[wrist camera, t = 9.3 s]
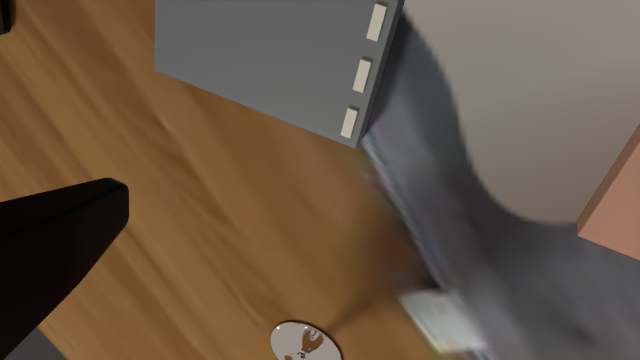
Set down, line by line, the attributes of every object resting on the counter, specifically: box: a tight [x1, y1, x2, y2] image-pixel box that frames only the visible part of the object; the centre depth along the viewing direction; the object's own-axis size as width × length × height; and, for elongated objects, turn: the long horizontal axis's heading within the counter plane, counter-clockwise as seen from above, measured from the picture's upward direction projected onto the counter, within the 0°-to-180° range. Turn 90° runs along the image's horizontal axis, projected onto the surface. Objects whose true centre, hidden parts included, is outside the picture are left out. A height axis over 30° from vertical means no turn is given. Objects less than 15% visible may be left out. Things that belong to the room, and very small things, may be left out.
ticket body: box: [154, 0, 405, 148], centre depth 20 cm, size 9×8×1 cm
